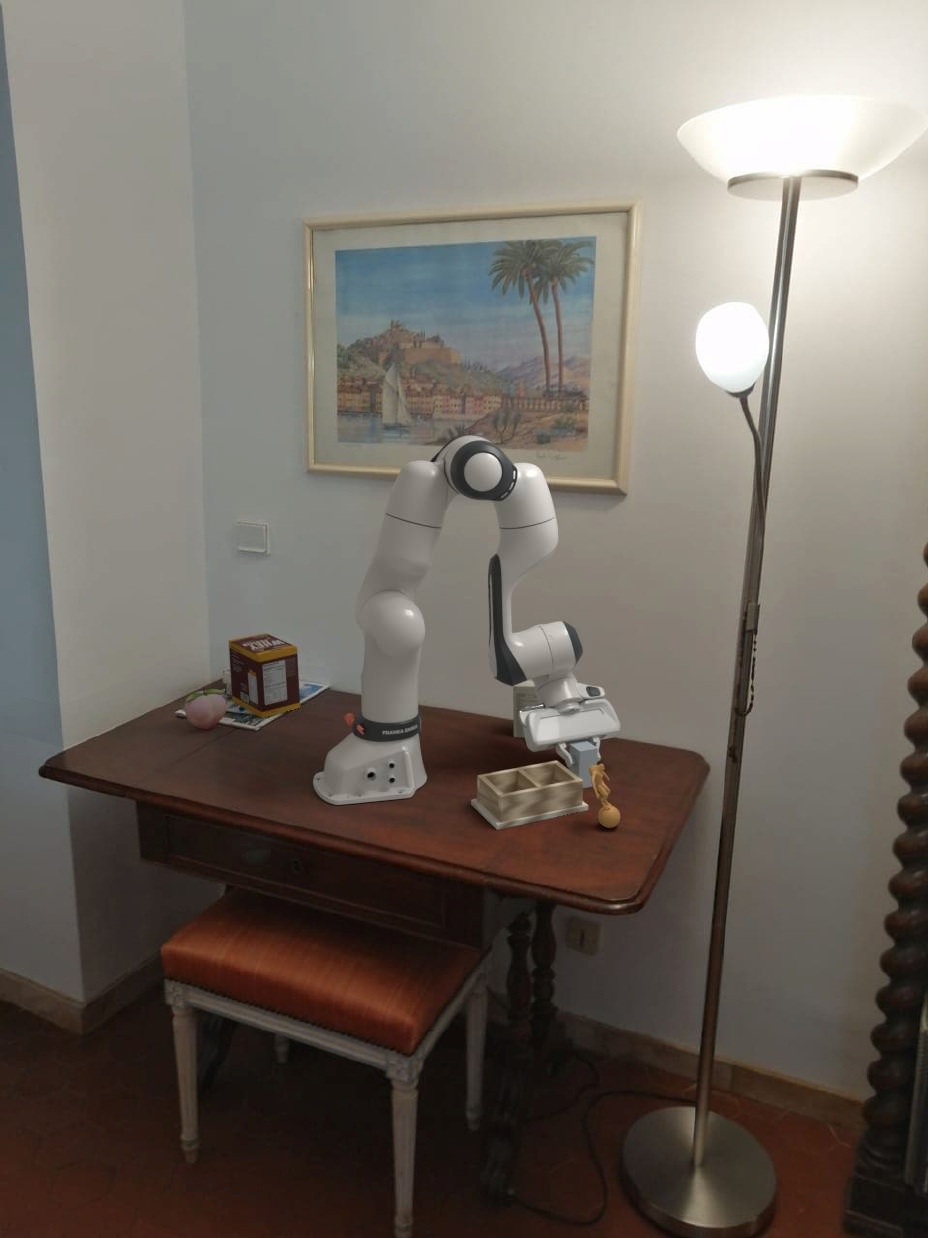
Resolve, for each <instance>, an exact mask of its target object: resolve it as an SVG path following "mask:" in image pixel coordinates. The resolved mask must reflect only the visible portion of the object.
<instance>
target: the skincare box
mask: <svg viewBox="0 0 928 1238" xmlns="http://www.w3.org/2000/svg"><path fill="white" fill-rule="evenodd" d="M512 687H513V688H512V690H513V693H512V698H513V699H512V700H513V704H512V705H513V707H512V709H513V737H514V738H525V736H524V731H523V726H522V725H521V723H520V720H519V717H518V714H519V711H520V710H521V709H522V708H523V707H525V706H532V705H536V704H539V701H538V698H537V696H536V692H535V685H534V682H533V681H532V679H529V680H527V681H525V682H522V683H520V684H517V685H514V686H512ZM522 712H523V711H522Z"/></svg>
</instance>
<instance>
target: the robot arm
mask: <svg viewBox="0 0 928 1238" xmlns="http://www.w3.org/2000/svg"><path fill="white" fill-rule="evenodd" d="M459 495H462V496H464V497H466V498H468V499H471V500H475V501H490V502H491V503H492V505H493V507H494V510H495V511H496V516H497V522H498V528H499V542H498V546H497V547H498V548H497V550H496V553H494V554H493V556H491V558H490V559H489V564H488V570H487V571H488V572H487V573H488V574H487V587H488V588H487V590H488V591H487V593H488V596H487V597H488V600H487V601H488V624H489V625H488V627H489V635H488V637H489V638H488V639H489V640H488V654H487V655H488V658H487V659H488V666H489V669H490V672H491V674H492V675H493V677H494V679H495V680H497V681H498V682H500V683H502V684H504V685H507V686H510V687H513V686H514V685H517V684H520V683H522V682H525V681H527V680H532V681H533V682H534V685H535V692H536V696H537V698H538V701H539V704H536V705H532V706H525V707H523V708H522V709H521V710H520V711H519V714H518V717H519V720H520V723H521V725H522V726H523V731H524V736H525V737H524V740H525V742H526V747H527V749H528V750H530V751H531V752H532V753H534V752H540V751H547V750H552V749H555V751H556V753H557V754H558V755H559V757H561V758H562V759H563V760H564V761H565V764H566V768H569V767H572V766H575V765H576V764H577V760H576V758H575V755H570V754H569V751H568V750H567V749H566V748H567V747H568V746H569V745H570V744H573V743H578V742H583V741H588V742H589V743H591V744H592V745H594V746H595V747H597V748H598V753H597V763H598V762H600V761H601V759H602V758H601V757H602V756H601V754H600V746H601V740H607V739H612V738H614V737H616V735H618V734H619V732H620V731H621V726H622V725H621V722H620V720H619V717H618V715H617V713H616V710H615V709H614V707H613V705H612V703H610V701H609V700H608V699H606V698H604V697H605V696H606V692H605V689H604V688H603V687H602V686H596V685H589V684H584V683H582V682H581V683H580V682H578V680H577V678H576V676H575V675H574V673H573V671H572V669H574V668H575V667H576V666H577V665H578V663H579V661H580V659H581V658H582V656H583V653H584V652H583V651H584V649H583V646H582V643H581V640H580V637H579V635H578V632H577V630H576V628H575V627H574V626H573V625H572V624H570V623H568V622H566V621H563V620H560V621H558V620H556V621H553V622H550V623H548V622H547V623H539V624H536V625H532V626H531V627H528V628H527V629H524V630H521V631H517V632H513V628H512V627H513V624H512V621H513V620H512V619H513V618H512V595H513V592H514V590H515V588H516V587H517V586H518V584H520V582H521V581H522V580H524V579H526V577H527V576H529V575H530V574H532V573H533V572H534V571H536V570H537V569H539V568H541V567H542V566H543V565H544V564H545V563H546V562H547V561H549V559H550V558H551V557H552V556H553V554H554V553H555V551H556V549H557V546H558V544H559V538H560V537H559V526H558V521H557V515H556V510H555V506H554V501H553V497H552V495H551V492H550V489H549V486H548V483H547V480H546V478H545V475H544V473H543V471H542V469H541V468H540V467H539V466H537V465H535V464H533V463H529V462H516V463H513V462H512V461H511V459H509V457H508V456H507V455H506V454H505V452H504V451H503V450H502V449H501V448H500V447H498V446H497V445H496V444H494V443H493V442H492V441H490V440H488V439H486V438H485V437H483V436H478V435H473V434H472V435H471V434H462V435H458V436H455V437H454V438H452V439H451V440H449V441H448V442H446V443H445V445H443V446H442V448H441V449H440V450H439V451H438V452H437V453H436V454H435V455H434V456H433V457H432V458H431V459H430V461H429V460H420V459H419V460H412V461H410V462H407V463H405V464H404V465H403V466H402V468H401V469H400V471H399V473H398V475H397V476H396V479H395V481H394V484H393V486H392V488H391V492H390V495H389V497H388V501H387V504H386V508H385V511H384V516H383V519H382V523H381V527H380V531H379V534H378V539H377V543H376V547H375V550H374V553H373V556H372V559H371V561H370V565H369V566H368V569H367V571H366V572H365V573H366V574H365V576H364V577H363V581H362V584H361V587H360V590H359V592H357V595H356V597H355V600H354V616H355V621H356V622H357V625H359V628H360V629H361V630H362V634H363V637H364V638H363V639H364V656H363V662H362V663H363V665H362V671H361V673H360V674H361V675H360V683H361V684H360V688H361V690H360V691H361V692H360V693H361V696H360V698H361V711H360V713H359V714H358V715H357V716H355V715H354V714H353V713H352V712H348V713H346V714H345V716H344V721H345V723H347V724H348V725H349V726H352V732H351V733H350V734H348V735H347V736H346V737H345V738H344V739H342V740H341V741H340V742H339V743H338V744H336V746H334V747H333V748H331V749H330V750H329V751H328V753H327V755H326V758H325V760H324V768H323V771H320V772H317V773H315V775H314V776H313V778H312V779H313V780H312V786H313V789H314V791H315V792H316V794H317V795H318V797H320V798H321V799H322V800H323V801H325V802H327V803H329V804H332V805H335V806H342V805H350V804H351V805H352V804H361V803H363V804H364V803H371V802H381V801H390V800H392V801H393V800H401V799H410V798H412V797H413V796H414V794H415V793H416V791H417V790H419V788H421V787H422V786H424V785H425V784H426V782H427V780H428V775H427V773H426V769H425V766H424V762H423V757H422V750H421V743H420V739H421V736H422V735H421V734H422V733H421V731H422V720H421V711H420V710H419V670H420V663H421V657H422V651H423V643H424V640H425V636H426V626H425V620H424V617H423V616H424V615H423V614H422V612H421V610H420V608H419V607H418V606H417V604H416V598H417V594H418V593H419V590H420V588H421V585H422V584H423V581H424V580H425V577H426V576H427V574H428V572H430V570H431V568H432V567H433V563H434V560H435V555H436V552H437V548H438V545H439V541H440V537H441V533H442V529H443V525H444V521H445V517H446V511H447V510H448V508H449V505H450V504H451V503H452V501H453V500H454V499H455V498H456V497H457V496H459ZM522 711H523V712H522Z"/></svg>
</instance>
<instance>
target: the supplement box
mask: <svg viewBox="0 0 928 1238" xmlns="http://www.w3.org/2000/svg"><path fill="white" fill-rule="evenodd" d="M228 653H229V669H230V671H229V672H230V685H231V699H232V702H233V703H235V704H237V705H239V706H240V707H241V708H243V709H246V710H247V711H249V712H250V713H253V714H254V715H256V716H258V717H259V718H261V719H266V718H269V717H272V716H271V715H273V716H276V715H275V714H277V715H279V714H278V713H281V714H283V713H282V712H284V713H287V712H286V711H288V712H290V710H292V711H296V710H299V709H301V698H300V696H301V695H300V676H299V657H298V647H297V646H296V645H293V644H291V643H289V642H287V641H284V640H283V639H280V638H279V637H275V636H273V635H271V634H269V633H267V632H265V633H259V634H255V635H249V636H244V637H239V638H235V639H233V638H232V639H229V640H228ZM298 708H299V709H298ZM295 709H296V710H295ZM268 716H269V717H268ZM265 717H266V718H265Z"/></svg>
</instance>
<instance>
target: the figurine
mask: <svg viewBox="0 0 928 1238" xmlns="http://www.w3.org/2000/svg"><path fill="white" fill-rule="evenodd" d="M605 769H606V768H605V765H604V764H603V763H599V764H597V765H594V766H591V767H590V768H589V773H590V775H591V777H592V778H591V784H592V788H593V790H594V792H595V797H596V799H597V800H600V804H601V805H602V807H601V808H600V809H599V811H598V813H597V819H598V820H597V821H598V822H599V824H601V826H602V827H605V828H608V829H611V828H615V827H616V826H617V825H618V824H619V823H620V821H621V813H620V810H619V809H618V808H617V807H615V806H613V805H612V803H610V802H608V800H607V799H608V798H609V795H610V793H611V790H610V788H609V787H608V786H607V785H606V783H605V782H604V780H603V778H604V777H605V778H606V780H607V781H608V782H609V781H610V778H609V777H608V775H607V774H606V772H605V771H604V770H605ZM594 782H595V783H594ZM595 784H596V786H595ZM601 795H602V797H601Z"/></svg>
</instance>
